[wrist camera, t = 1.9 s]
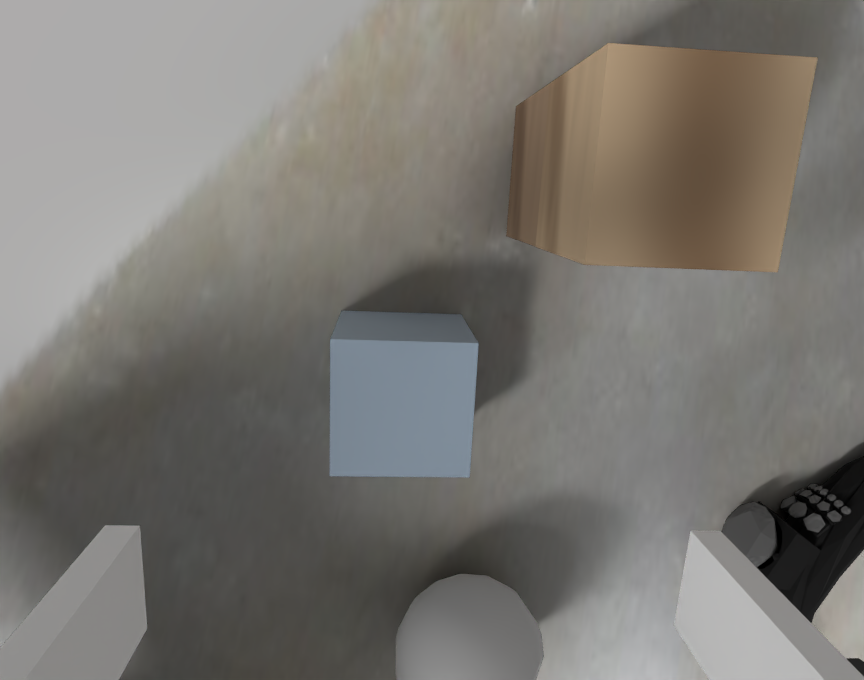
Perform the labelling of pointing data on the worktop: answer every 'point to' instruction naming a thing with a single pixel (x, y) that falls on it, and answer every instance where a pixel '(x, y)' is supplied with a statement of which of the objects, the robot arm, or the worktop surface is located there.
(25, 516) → the worktop surface
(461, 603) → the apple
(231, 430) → the worktop surface
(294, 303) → the worktop surface
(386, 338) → the slate block
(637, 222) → the tower upper block
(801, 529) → the ring
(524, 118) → the tower lower block
